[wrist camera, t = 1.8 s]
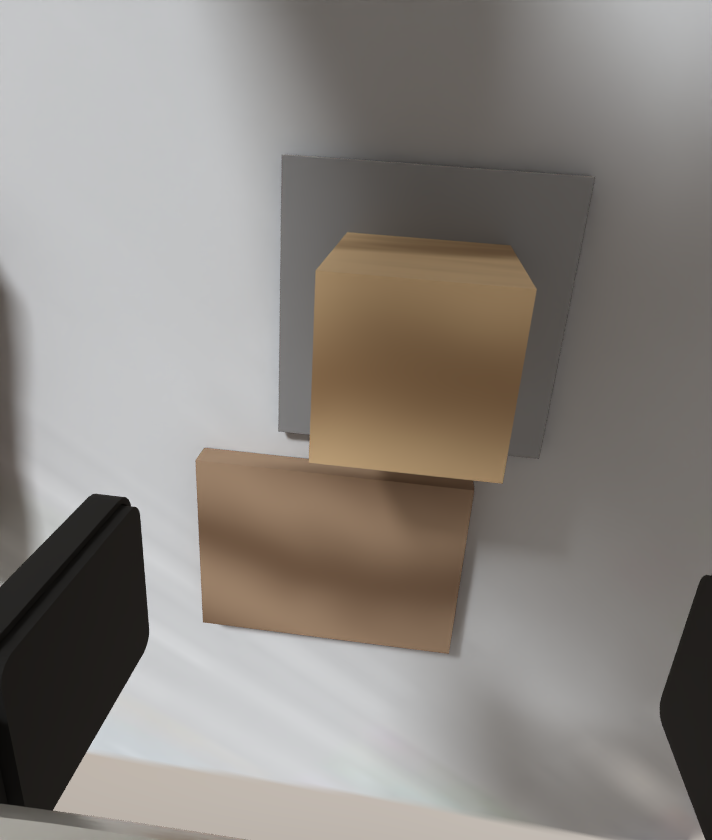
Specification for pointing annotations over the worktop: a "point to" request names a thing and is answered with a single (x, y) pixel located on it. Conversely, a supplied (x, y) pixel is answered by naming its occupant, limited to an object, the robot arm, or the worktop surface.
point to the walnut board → (330, 549)
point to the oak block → (418, 355)
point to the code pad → (431, 219)
